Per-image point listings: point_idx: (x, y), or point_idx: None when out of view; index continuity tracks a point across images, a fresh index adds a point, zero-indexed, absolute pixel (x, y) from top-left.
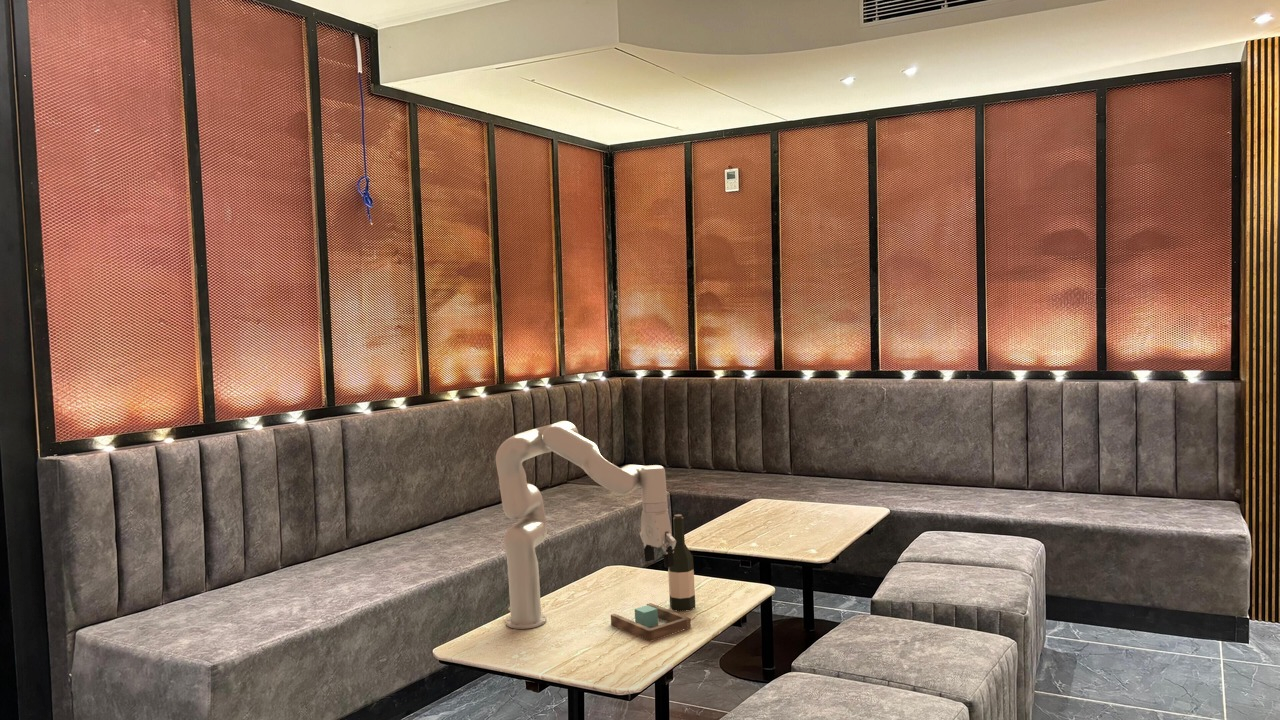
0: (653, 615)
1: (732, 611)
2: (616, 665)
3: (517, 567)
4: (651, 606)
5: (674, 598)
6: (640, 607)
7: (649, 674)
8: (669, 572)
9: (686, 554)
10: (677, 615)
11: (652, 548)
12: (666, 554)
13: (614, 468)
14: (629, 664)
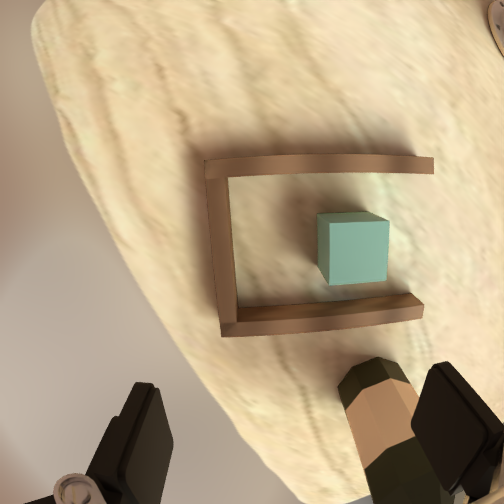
0: (325, 259)
1: (254, 440)
2: (129, 11)
3: None
4: (402, 306)
5: (379, 381)
6: (386, 246)
7: (41, 63)
8: None
9: None
10: (271, 322)
11: (448, 481)
12: (75, 476)
13: None
14: (110, 39)
